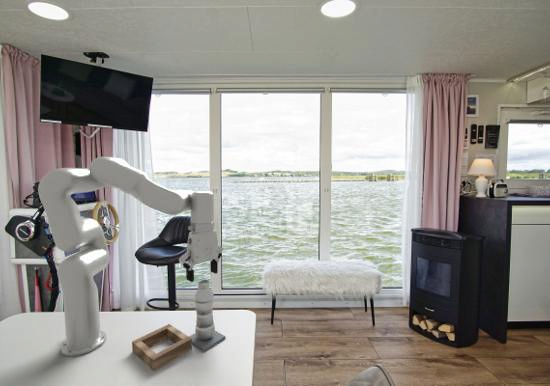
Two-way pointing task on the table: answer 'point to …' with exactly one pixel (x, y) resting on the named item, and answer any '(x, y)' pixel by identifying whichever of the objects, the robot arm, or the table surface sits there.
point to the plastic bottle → (204, 311)
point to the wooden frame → (164, 356)
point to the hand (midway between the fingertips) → (202, 276)
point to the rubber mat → (207, 341)
